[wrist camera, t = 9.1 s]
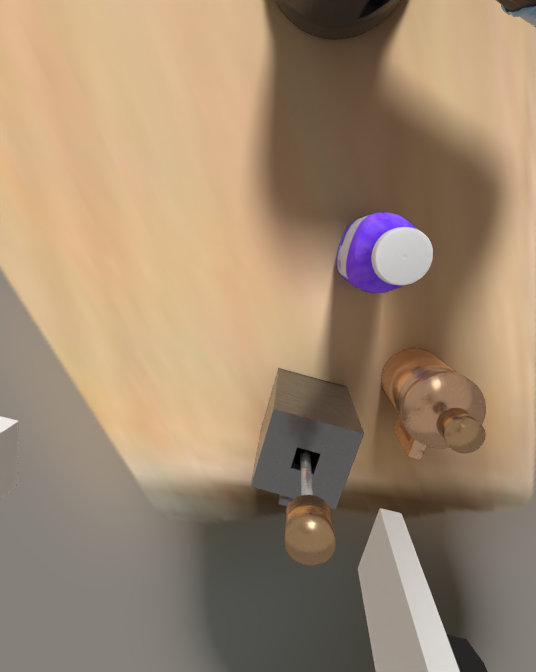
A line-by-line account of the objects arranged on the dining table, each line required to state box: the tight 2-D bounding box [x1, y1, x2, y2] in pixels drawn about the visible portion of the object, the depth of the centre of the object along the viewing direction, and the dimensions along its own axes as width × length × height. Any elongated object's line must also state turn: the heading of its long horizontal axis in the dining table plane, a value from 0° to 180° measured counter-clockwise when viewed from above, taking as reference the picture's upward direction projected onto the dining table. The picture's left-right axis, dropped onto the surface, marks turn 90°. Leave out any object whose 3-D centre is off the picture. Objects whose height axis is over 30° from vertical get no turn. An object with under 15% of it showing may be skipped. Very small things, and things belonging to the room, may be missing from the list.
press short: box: [382, 349, 486, 460], centre depth 39 cm, size 11×8×15 cm
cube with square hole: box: [251, 368, 364, 510], centre depth 42 cm, size 12×9×12 cm
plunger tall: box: [285, 448, 335, 565], centre depth 35 cm, size 7×7×19 cm
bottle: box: [337, 212, 433, 293], centre depth 34 cm, size 7×6×17 cm
